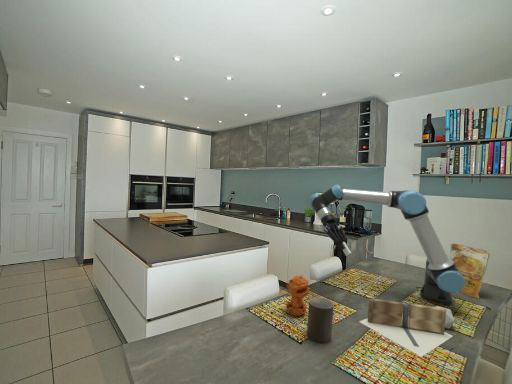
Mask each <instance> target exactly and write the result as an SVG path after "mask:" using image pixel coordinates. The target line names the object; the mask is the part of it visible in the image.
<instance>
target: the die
mask: <svg viewBox="0 0 512 384" xmlns="http://www.w3.org/2000/svg"><path fill="white" fill-rule="evenodd" d="M435 307H438V308H444V309H446V320H445V329H447V330H450V328H451V327H452V326H453V324H454V322H455V318H454V316H453V313H452V310H451V309H449V308H446V307H442V306H439V305H435Z"/></svg>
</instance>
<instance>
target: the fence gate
mask: <svg viewBox="0 0 512 384" xmlns="http://www.w3.org/2000/svg"><path fill="white" fill-rule="evenodd" d="M403 306H404V302H401V301H400V302H399V301H393V300H387V299H380V298H369V299H368V310H367V311H368V312H367V318H368V322H370V323H372V322H374V323H381V324H387V325H393V326H399V327H402V315H403Z"/></svg>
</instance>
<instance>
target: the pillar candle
mask: <svg viewBox="0 0 512 384" xmlns="http://www.w3.org/2000/svg"><path fill="white" fill-rule="evenodd" d="M307 312H308V313H307V328H306V335H307V337H308V338H309V339H310V340H312V341H313V342H316V343H319V344H327V343H330V342H331V340H332V334H333V321H334V303H333V302H332V300H329V299H327V298H323V297H312V298H310V299H309V301H308V311H307Z"/></svg>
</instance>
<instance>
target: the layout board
mask: <svg viewBox="0 0 512 384" xmlns="http://www.w3.org/2000/svg"><path fill="white" fill-rule="evenodd" d="M402 318H403V315H402ZM408 319H409V317H408ZM358 322H359V323H360V324H362V325H364V326H366V327H368V328H369V329H371V330H373V331H375V332H377V333H378V334H380V335H381V336H383V337H385V338H386V339H389V340H390V341H392V342H394V343H396V344H398V345H399V346H401V347H403V348H404V349H406V350H408V351H410V352H411V353H413V354H415V355H417V356H419V359H423V358H422V357H423V356H426V355H427V354H428V353H430V352H431V351H433V350H434V349H436V348H437V347H439V346H440V345H442V344H443V343H446V342H447V341H448V340H449V339H451V338H453V337H454V336H453V335H452V334H449V333H448V332H446V331H444V335H442V334H440V333H438V332H432V331H426V330H420V329H413V328H409V327H408V328H407V329H405V328H403V327H399V326H393V325H387V324H381V323H374V322H372V323H370V322H368V317H367V318H365V319H362V320H360V321H358Z"/></svg>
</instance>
